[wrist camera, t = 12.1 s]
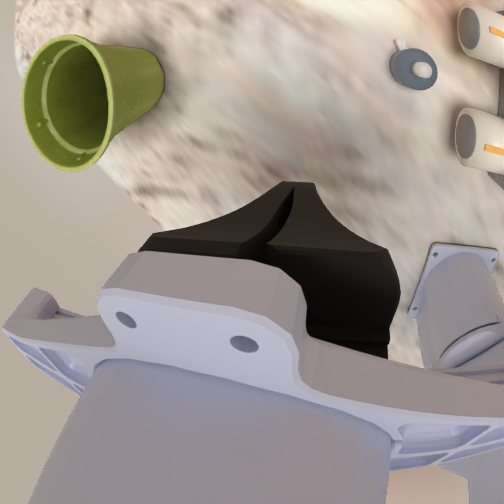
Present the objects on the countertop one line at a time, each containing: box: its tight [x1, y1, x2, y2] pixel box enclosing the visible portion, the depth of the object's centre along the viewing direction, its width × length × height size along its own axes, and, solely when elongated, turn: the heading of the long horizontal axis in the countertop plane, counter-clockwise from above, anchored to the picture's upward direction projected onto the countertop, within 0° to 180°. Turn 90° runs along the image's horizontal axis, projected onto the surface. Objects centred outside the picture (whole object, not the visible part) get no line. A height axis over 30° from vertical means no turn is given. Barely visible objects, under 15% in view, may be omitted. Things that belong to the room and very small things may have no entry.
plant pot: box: [22, 35, 164, 172], centre depth 16 cm, size 9×9×9 cm
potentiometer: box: [390, 38, 437, 90], centre depth 13 cm, size 4×3×4 cm
